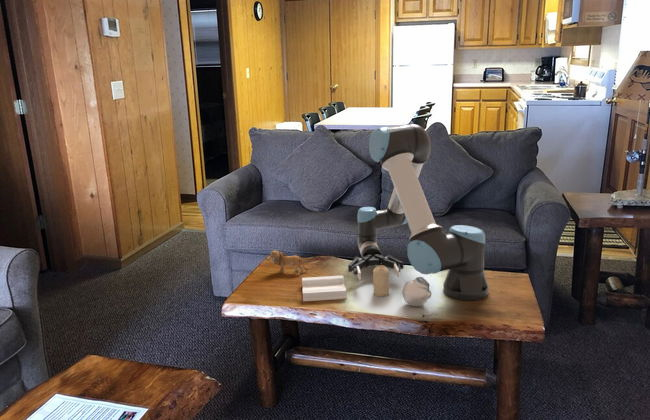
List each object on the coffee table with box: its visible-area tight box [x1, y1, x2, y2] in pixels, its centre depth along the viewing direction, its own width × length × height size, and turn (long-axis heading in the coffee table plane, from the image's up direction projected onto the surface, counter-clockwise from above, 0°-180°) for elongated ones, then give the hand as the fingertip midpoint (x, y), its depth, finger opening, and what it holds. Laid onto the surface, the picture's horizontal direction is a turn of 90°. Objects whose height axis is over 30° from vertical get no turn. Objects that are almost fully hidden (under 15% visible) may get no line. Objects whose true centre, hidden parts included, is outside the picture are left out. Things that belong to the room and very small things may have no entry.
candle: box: [372, 265, 390, 297], centre depth 187 cm, size 6×6×10 cm
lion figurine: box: [269, 249, 309, 274], centre depth 209 cm, size 15×5×9 cm, turn 88°
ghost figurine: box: [401, 276, 432, 307], centre depth 177 cm, size 9×10×10 cm
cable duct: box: [301, 275, 348, 302], centre depth 191 cm, size 15×13×3 cm
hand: (379, 275), depth 189 cm, fingers open, 13 cm apart
